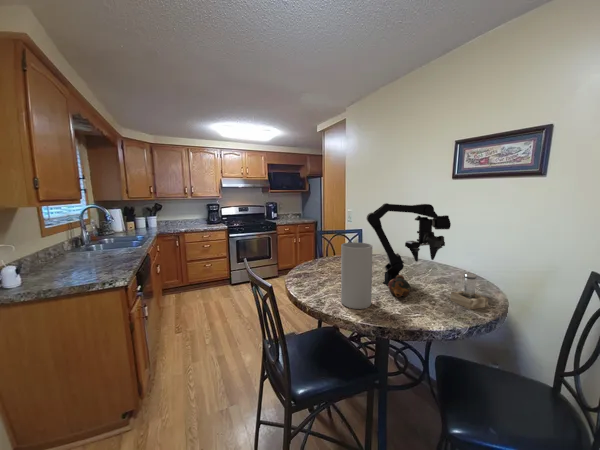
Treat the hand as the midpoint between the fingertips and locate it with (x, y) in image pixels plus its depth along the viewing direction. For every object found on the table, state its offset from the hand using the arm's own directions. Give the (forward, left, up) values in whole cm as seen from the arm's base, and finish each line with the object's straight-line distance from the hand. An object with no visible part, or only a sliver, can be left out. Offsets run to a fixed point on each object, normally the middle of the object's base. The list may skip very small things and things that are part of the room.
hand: (424, 260), depth 120 cm
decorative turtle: (-19, -7, -13) cm, 24 cm away
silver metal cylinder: (+3, -22, -13) cm, 26 cm away
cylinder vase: (-42, -10, -13) cm, 45 cm away
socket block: (+3, -22, -13) cm, 26 cm away
